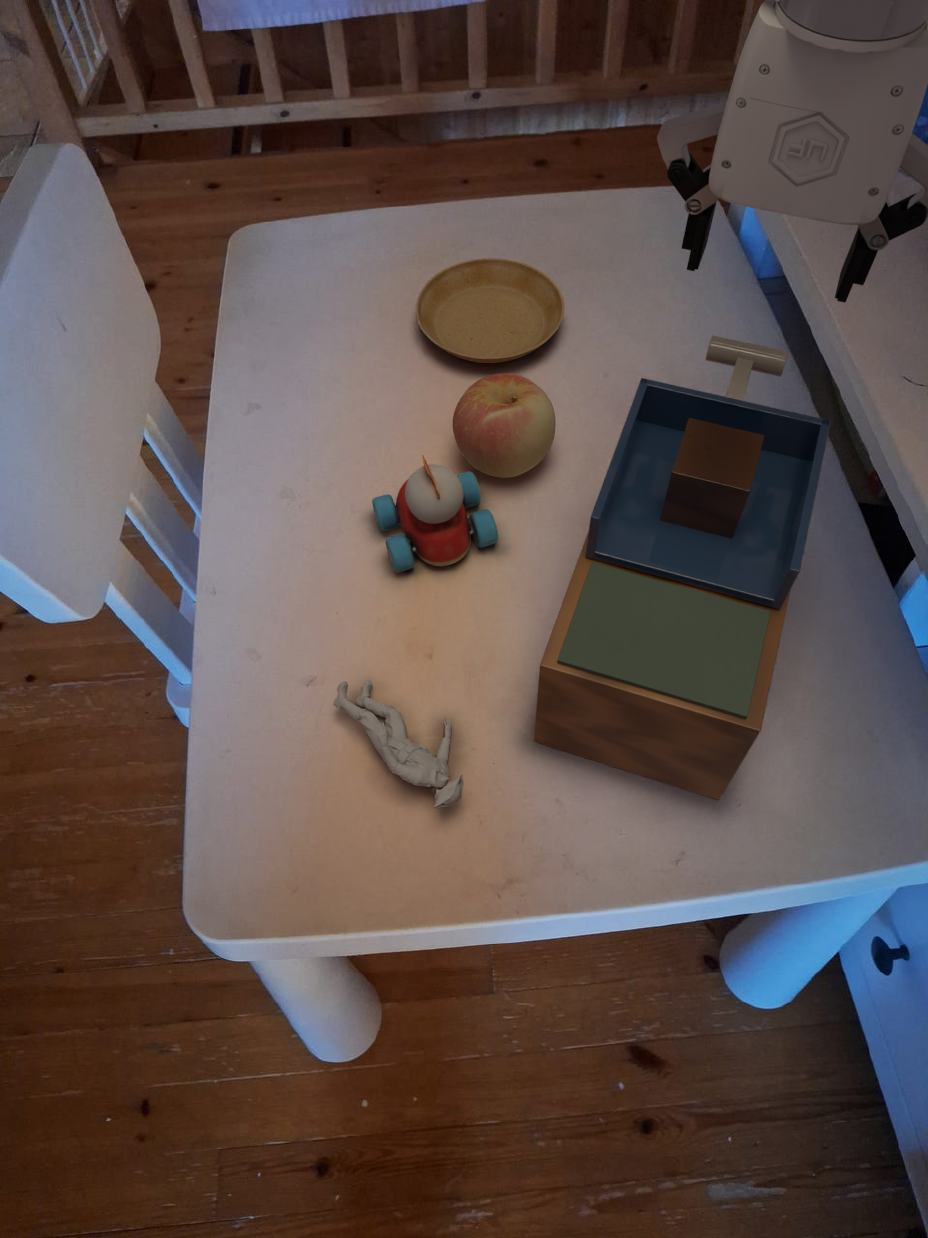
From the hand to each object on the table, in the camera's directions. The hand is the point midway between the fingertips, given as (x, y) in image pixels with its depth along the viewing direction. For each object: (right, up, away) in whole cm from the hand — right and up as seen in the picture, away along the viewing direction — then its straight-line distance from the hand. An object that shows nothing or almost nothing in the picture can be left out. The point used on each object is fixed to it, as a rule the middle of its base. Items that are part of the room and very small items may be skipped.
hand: (768, 272), depth 60 cm
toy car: (-23, -15, +19) cm, 33 cm away
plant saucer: (-17, +7, +32) cm, 37 cm away
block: (-3, -15, +3) cm, 15 cm away
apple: (-16, -8, +23) cm, 29 cm away
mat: (-7, -24, -1) cm, 25 cm away
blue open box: (-2, -13, +5) cm, 14 cm away
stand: (-4, -25, +12) cm, 28 cm away
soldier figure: (-25, -33, +8) cm, 42 cm away
